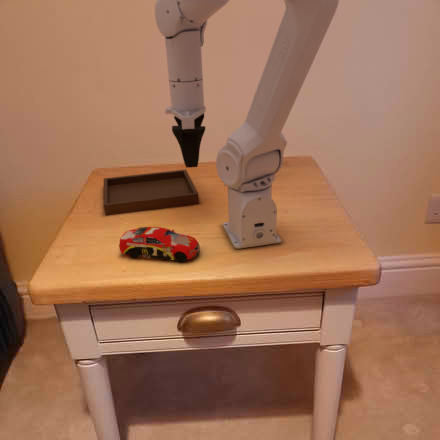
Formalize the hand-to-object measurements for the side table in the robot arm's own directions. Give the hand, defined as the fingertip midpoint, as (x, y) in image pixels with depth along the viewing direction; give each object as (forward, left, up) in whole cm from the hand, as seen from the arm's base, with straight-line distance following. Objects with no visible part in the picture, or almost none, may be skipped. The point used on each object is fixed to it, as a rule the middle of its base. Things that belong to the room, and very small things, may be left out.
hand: (191, 160), depth 79 cm
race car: (-17, +9, -10) cm, 21 cm away
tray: (+9, +8, -9) cm, 15 cm away
